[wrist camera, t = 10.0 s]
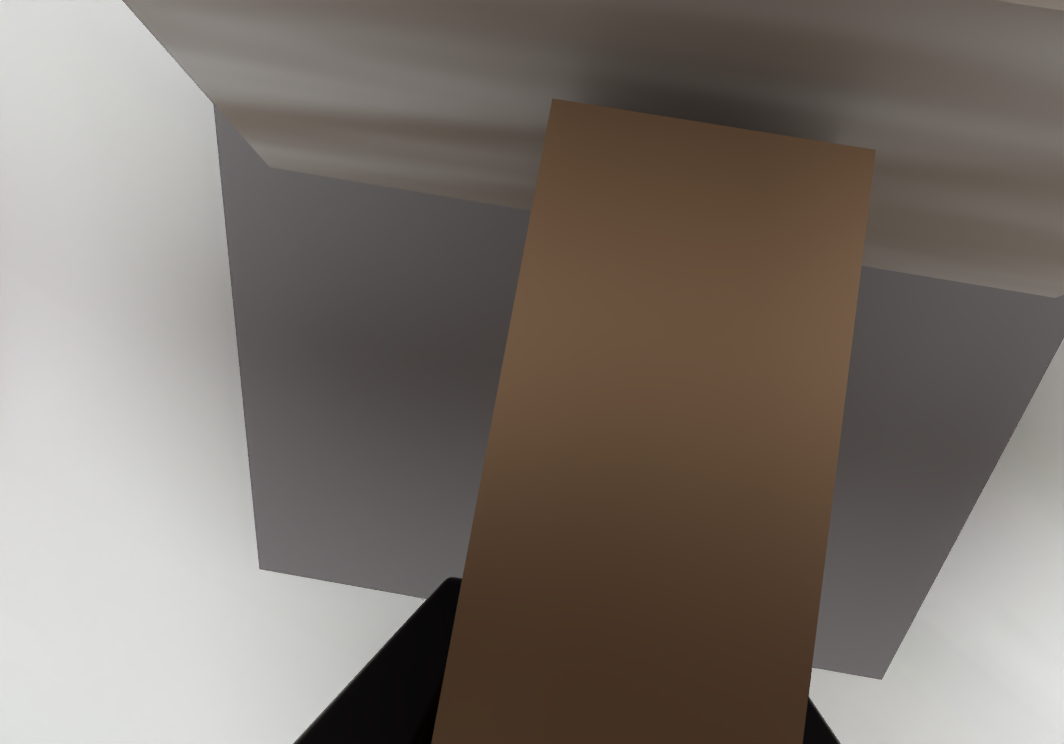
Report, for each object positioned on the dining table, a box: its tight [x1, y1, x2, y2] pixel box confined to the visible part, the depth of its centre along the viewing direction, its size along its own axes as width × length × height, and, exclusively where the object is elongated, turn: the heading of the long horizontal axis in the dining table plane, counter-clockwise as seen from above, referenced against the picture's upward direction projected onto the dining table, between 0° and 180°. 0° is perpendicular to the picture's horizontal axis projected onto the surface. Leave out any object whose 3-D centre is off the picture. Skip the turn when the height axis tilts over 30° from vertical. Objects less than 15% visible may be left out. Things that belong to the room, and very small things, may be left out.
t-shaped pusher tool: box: [123, 0, 1064, 744], centre depth 8 cm, size 12×12×6 cm
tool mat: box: [214, 105, 1064, 680], centre depth 15 cm, size 20×16×1 cm
